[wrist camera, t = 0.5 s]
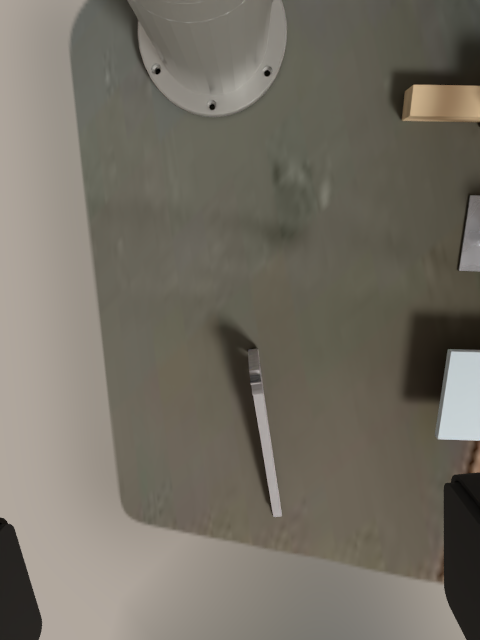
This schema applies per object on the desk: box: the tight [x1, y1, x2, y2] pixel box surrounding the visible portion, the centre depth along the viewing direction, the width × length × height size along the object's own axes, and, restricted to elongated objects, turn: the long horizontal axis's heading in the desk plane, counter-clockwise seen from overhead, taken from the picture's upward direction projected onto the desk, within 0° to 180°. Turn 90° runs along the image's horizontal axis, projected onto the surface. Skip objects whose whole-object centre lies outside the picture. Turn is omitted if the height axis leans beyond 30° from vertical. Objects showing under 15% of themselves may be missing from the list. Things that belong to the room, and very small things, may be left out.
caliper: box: [248, 348, 282, 517], centre depth 43 cm, size 20×1×6 cm, turn 9°
